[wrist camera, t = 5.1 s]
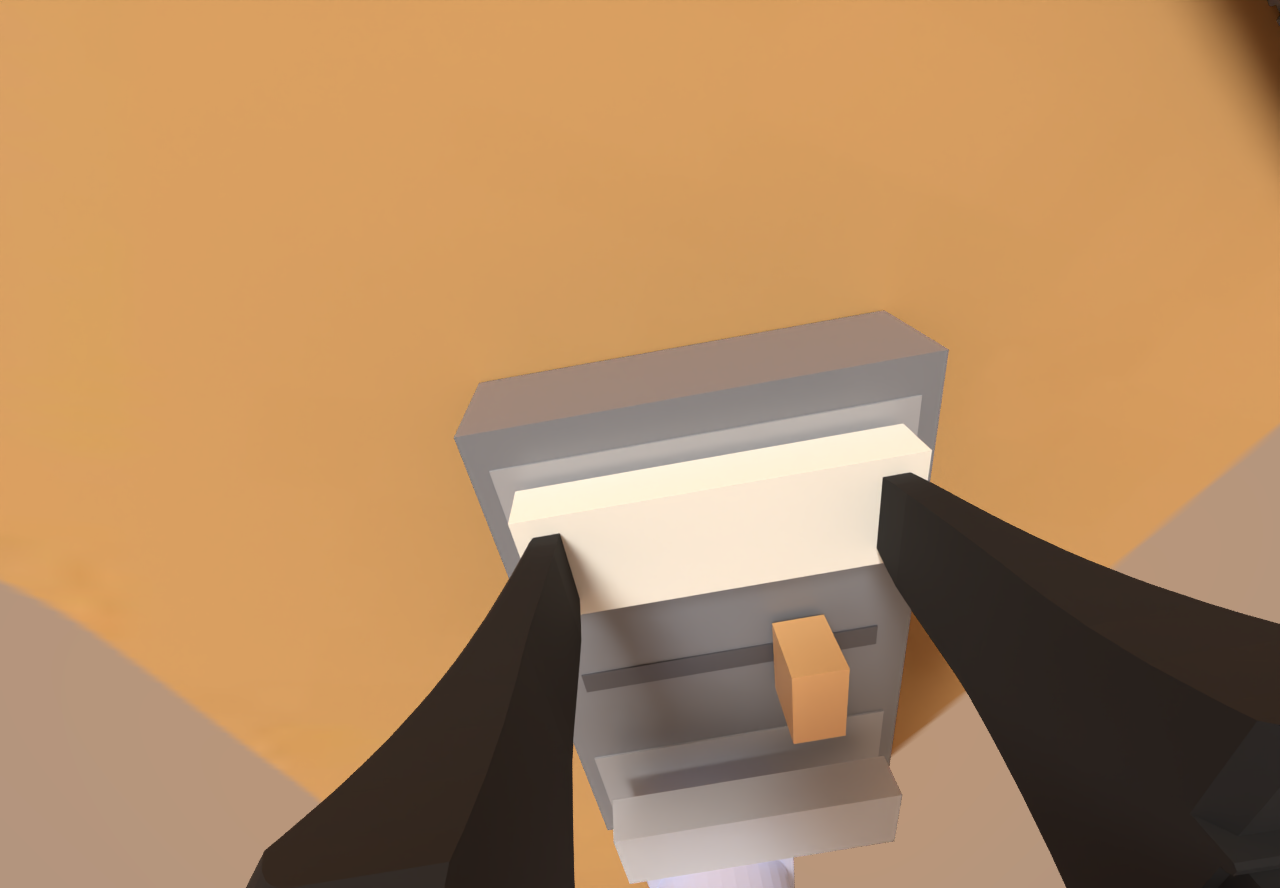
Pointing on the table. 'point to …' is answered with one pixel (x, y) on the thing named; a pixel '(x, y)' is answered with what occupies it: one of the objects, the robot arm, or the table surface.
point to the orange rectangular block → (810, 678)
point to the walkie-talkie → (1279, 2)
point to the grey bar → (756, 819)
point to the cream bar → (721, 518)
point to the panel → (730, 619)
